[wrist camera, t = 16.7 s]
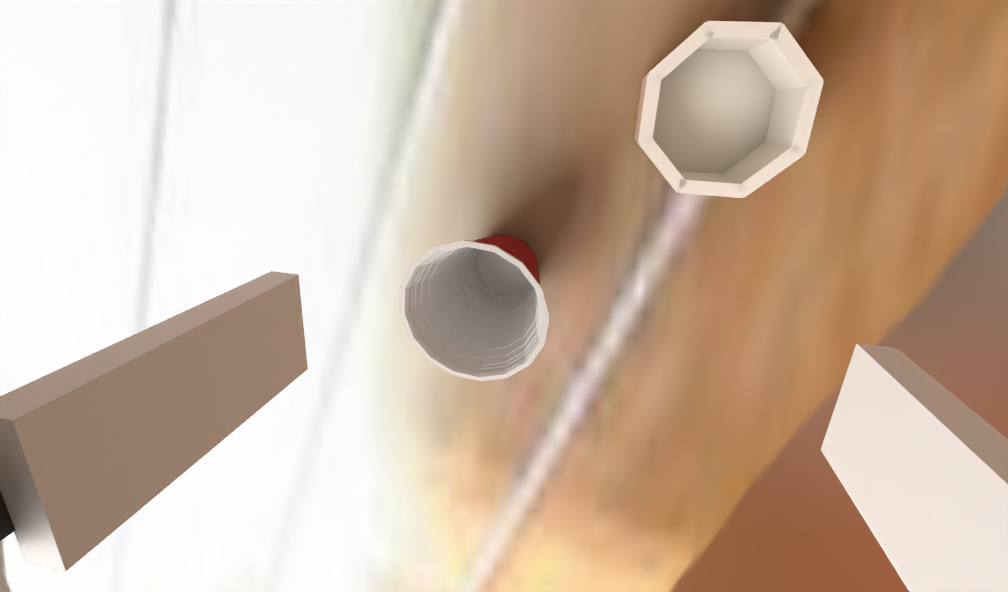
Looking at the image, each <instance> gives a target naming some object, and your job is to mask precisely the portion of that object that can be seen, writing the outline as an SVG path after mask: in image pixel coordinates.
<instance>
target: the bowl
mask: <svg viewBox="0 0 1008 592" xmlns="http://www.w3.org/2000/svg"><path fill="white" fill-rule="evenodd" d="M822 81H823V78H822V77H821V76H820V74H819V73H818V71H817V70H816V69H815V67H814V66H813V64H812V63H811V62H810V60H809V59H808V57H807V56H806V55H805V53H804V52H803V50H802V49H801V48H800V46H799V45H798V43H797V42H796V40H795V39H794V38H793V36H792V35H791V33H790V32H789V31H788V29H787V28H786V26H785V25H784V24H782V23H778V22H737V21H707V22H705V23H704V24H703V25H702V26H700V27H699V28H698V29H697V30H696V31H695V32H694V33H693V34H691V35H690V36H689V37H688V38H687V39H686V40H685V41H684V42H682V43H681V44H680V45H679V46H678V47H677V48H676V49H675V50H673V51H672V52H671V53H670V54H669V55H668V56H667V57H665V58H664V59H663V60H662V61H661V62H660V63H659V64H658V65H656V66H655V67H654V68H653V69H652V70H651V71H650V72H649V73H648V74H647V75H646V76H645V77H644V78H643V80H642V86H641V93H640V100H639V107H638V115H637V122H636V129H635V136H634V139H635V141H636V142H637V143H638V145H639V146H640V147H641V149H642V150H643V151H644V152H645V154H646V155H647V156H648V157H649V159H650V160H651V161H652V162H653V164H654V165H655V166H656V168H657V169H658V170H659V171H660V173H661V174H662V175H663V176H664V178H665V179H666V180H667V181H668V183H669V184H670V185H671V186H672V187H673V189H674V190H675V191H676V192H677V193H686V194H699V195H711V196H723V197H736V198H743V197H744V198H745V197H746V196H747V195H749V194H750V193H752V192H753V191H754V190H756V189H757V188H759V187H760V186H761V185H763V184H764V183H766V182H767V181H768V180H770V179H771V178H773V177H774V176H775V175H777V174H778V173H780V172H781V171H782V170H784V169H785V168H787V167H788V166H789V165H791V164H792V163H794V162H795V161H796V160H798V159H799V158H801V157H802V156H803V155H804V154H803V153H806V149H807V145H808V141H809V137H810V133H811V129H812V126H813V122H814V118H815V114H816V110H817V106H818V102H819V98H820V95H821V91H822V87H823V83H824V82H822Z"/></svg>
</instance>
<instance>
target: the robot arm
mask: <svg viewBox="0 0 1008 592" xmlns="http://www.w3.org/2000/svg"><path fill="white" fill-rule="evenodd" d="M306 370H307V358H306V348H305V338H304V328H303V318H302V307H301V297H300V287H299V277H298V275H297V274H288V273H280V272H272V271H271V272H269V273H267V274H265V275H263V276H261V277H258V278H256V279H254V280H252V281H250V282H248V283H245V284H243V285H241V286H239V287H237V288H235V289H232V290H230V291H228V292H226V293H224V294H222V295H219V296H217V297H215V298H213V299H211V300H209V301H206V302H204V303H202V304H200V305H198V306H196V307H193V308H191V309H189V310H187V311H185V312H183V313H180V314H178V315H176V316H174V317H172V318H170V319H167V320H165V321H163V322H161V323H159V324H157V325H154V326H152V327H150V328H148V329H146V330H144V331H141V332H139V333H137V334H135V335H133V336H131V337H128V338H126V339H124V340H122V341H120V342H118V343H115V344H113V345H111V346H109V347H107V348H105V349H102V350H100V351H98V352H96V353H94V354H92V355H89V356H87V357H85V358H83V359H81V360H79V361H76V362H74V363H72V364H70V365H68V366H66V367H63V368H61V369H59V370H57V371H55V372H53V373H50V374H48V375H46V376H44V377H42V378H40V379H37V380H35V381H33V382H31V383H29V384H27V385H24V386H22V387H20V388H18V389H16V390H13V391H11V392H9V393H7V394H5V395H3V396H0V540H2V539H4V538H5V537H6V536H8V535H9V534H11V533H12V532H14V533H15V535H16V538H17V541H18V543H19V546H20V548H21V551H22V554H23V556H24V559H25V561H27V562H31V563H35V564H39V565H43V566H47V567H51V568H55V569H59V570H63V571H67V570H68V569H69V568H70V567H71V566H73V565H74V564H75V563H76V562H77V561H79V560H80V559H81V558H82V557H83V556H85V555H86V554H87V553H88V552H89V551H91V550H92V549H93V548H94V547H95V546H97V545H98V544H99V543H100V542H101V541H103V540H104V539H105V538H106V537H107V536H109V535H110V534H111V533H112V532H113V531H114V530H116V529H117V528H118V527H119V526H120V525H122V524H123V523H124V522H125V521H126V520H128V519H129V518H130V517H131V516H132V515H134V514H135V513H136V512H137V511H138V510H140V509H141V508H142V507H143V506H144V505H146V504H147V503H148V502H149V501H150V500H152V499H153V498H154V497H155V496H156V495H158V494H159V493H160V492H161V491H162V490H163V489H165V488H166V487H167V486H168V485H169V484H171V483H172V482H173V481H174V480H175V479H177V478H178V477H179V476H180V475H181V474H183V473H184V472H185V471H186V470H187V469H189V468H190V467H191V466H192V465H193V464H195V463H196V462H197V461H198V460H199V459H201V458H202V457H203V456H204V455H205V454H207V453H208V452H209V451H210V450H211V449H212V448H214V447H215V446H216V445H217V444H218V443H220V442H221V441H222V440H223V439H224V438H226V437H227V436H228V435H229V434H230V433H232V432H233V431H234V430H235V429H236V428H238V427H239V426H240V425H241V424H242V423H244V422H245V421H246V420H247V419H248V418H250V417H251V416H252V415H253V414H254V413H256V412H257V411H258V410H259V409H260V408H261V407H263V406H264V405H265V404H266V403H267V402H269V401H270V400H271V399H272V398H273V397H275V396H276V395H277V394H278V393H279V392H281V391H282V390H283V389H284V388H285V387H287V386H288V385H289V384H290V383H291V382H293V381H294V380H295V379H296V378H297V377H299V376H300V375H301V374H302V373H303V372H305V371H306ZM821 451H822V453H823V454H824V456H825V457H826V459H827V461H828V462H829V464H830V465H831V467H832V469H833V470H834V472H835V473H836V475H837V477H838V478H839V480H840V481H841V483H842V485H843V486H844V488H845V489H846V491H847V492H848V494H849V496H850V498H851V499H852V501H853V502H854V504H855V506H856V507H857V509H858V510H859V512H860V513H861V515H862V517H863V518H864V520H865V521H866V523H867V525H868V526H869V528H870V530H871V531H872V533H873V534H874V536H875V537H876V539H877V541H878V542H879V544H880V546H881V547H882V549H883V550H884V552H885V553H886V555H887V557H888V558H889V560H890V562H891V563H892V565H893V566H894V568H895V570H896V571H897V573H898V574H899V576H900V578H901V579H902V581H903V582H904V584H905V586H906V587H907V589H908V590H909V592H1008V439H1006V438H1005V437H1004V436H1003V435H1002V434H1000V433H999V432H998V431H997V430H996V429H994V428H993V427H992V426H991V425H989V424H988V423H987V422H986V421H985V420H983V419H982V418H981V417H979V416H978V415H977V414H976V413H975V412H974V411H972V410H971V409H970V408H969V407H967V406H966V405H965V404H964V403H962V402H961V401H960V400H959V399H958V398H956V397H955V396H954V395H953V394H952V393H950V392H949V391H948V390H947V389H946V388H944V387H943V386H942V385H941V384H939V383H938V382H937V381H935V380H934V379H933V378H932V377H931V376H930V375H928V374H927V373H926V372H925V371H923V370H922V369H921V368H920V367H919V366H917V365H916V364H915V363H914V362H912V361H911V360H910V359H909V358H908V357H906V356H905V355H904V354H903V353H902V352H900V351H899V350H898V349H897V348H889V347H882V346H874V345H866V344H856V347H855V350H854V353H853V356H852V359H851V362H850V365H849V368H848V371H847V374H846V376H845V379H844V382H843V385H842V388H841V391H840V394H839V397H838V400H837V403H836V406H835V409H834V412H833V415H832V418H831V421H830V424H829V427H828V430H827V433H826V436H825V439H824V442H823V445H822V448H821Z"/></svg>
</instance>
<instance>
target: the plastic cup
mask: <svg viewBox="0 0 1008 592" xmlns="http://www.w3.org/2000/svg"><path fill="white" fill-rule="evenodd" d="M400 314H401V317H402V319H403V322H404V325H405V327H406V330H407V332H408V335H409V338H410V339H411V340H412V342H413V343H414V344H415V345H416V346H417V348H418V349H419V350H420V351H421V352H422V353H423V355H424V356H425V357H426V358H427V359H428V360H429V361H431V362H432V363H434V364H436V365H437V366H439V367H440V368H442V369H444V370H445V371H447V372H449V373H450V374H452V375H456V376H460V377H464V378H468V379H473V380H477V381H485V380H494V379H502V378H507V377H509V376H511V375H513V374H515V373H517V372H518V371H520V370H522V369H524V368H526V367H527V366H529V365H530V364H531V363H532V361H533V360H534V358H535V357H536V356H537V354H538V353H539V352H540V350H541V349H542V347H543V346H544V345H545V340H546V334H547V329H548V323H549V314H548V310H547V306H546V303H545V299H544V295H543V291H542V287H541V286H540V279H539V273H538V267H537V263H536V259H535V255H534V253H533V252H532V251H531V249H530V248H529V247H528V245H527V244H526V243H524V242H522V241H521V240H519V239H518V238H516V237H513V236H507V235H498V236H492V237H487V238H483V239H478V240H475V241H469V240H462V241H458V242H453V243H448V244H444V245H439V246H434V247H433V248H432V249H430V250H429V251H428V252H426V253H425V254H424V255H422V256H421V257H420V258H418V259H417V260H416V261H414V262H413V263H412V265H411V267H410V269H409V271H408V273H407V275H406V277H405V279H404V281H403V283H402V285H401V297H400Z"/></svg>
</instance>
